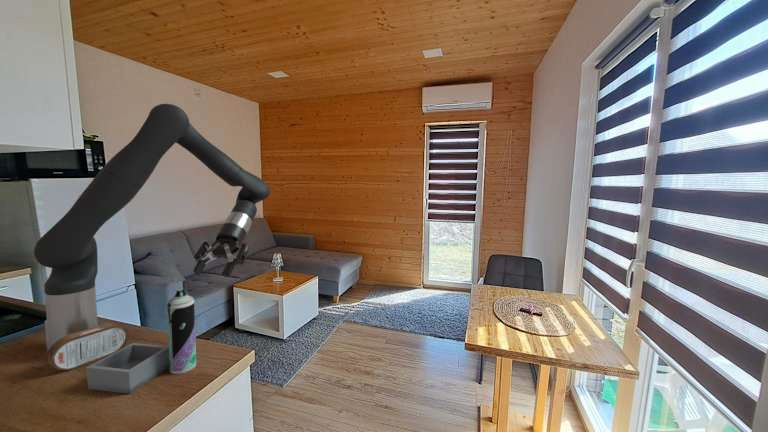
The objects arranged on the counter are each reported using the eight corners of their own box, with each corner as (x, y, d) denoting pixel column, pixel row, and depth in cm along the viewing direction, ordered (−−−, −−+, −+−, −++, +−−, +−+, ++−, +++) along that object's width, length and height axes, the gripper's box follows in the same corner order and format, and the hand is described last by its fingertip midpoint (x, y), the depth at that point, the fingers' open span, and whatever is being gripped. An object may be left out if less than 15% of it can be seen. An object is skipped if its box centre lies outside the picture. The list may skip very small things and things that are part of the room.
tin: (125, 345, 83) (123, 317, 82) (130, 348, 82) (129, 319, 81) (46, 374, 70) (44, 340, 69) (51, 379, 68) (48, 344, 68)
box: (87, 388, 65) (86, 367, 65) (133, 361, 76) (132, 342, 75) (130, 393, 64) (129, 372, 64) (171, 365, 74) (170, 346, 74)
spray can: (183, 375, 71) (180, 295, 69) (164, 372, 72) (160, 292, 70) (201, 362, 76) (199, 287, 74) (183, 359, 77) (180, 285, 75)
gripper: (208, 221, 91) (179, 266, 80) (251, 222, 89) (227, 269, 79) (220, 235, 96) (194, 279, 86) (260, 237, 95) (240, 282, 84)
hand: (210, 275), depth 82 cm, fingers open, 8 cm apart
